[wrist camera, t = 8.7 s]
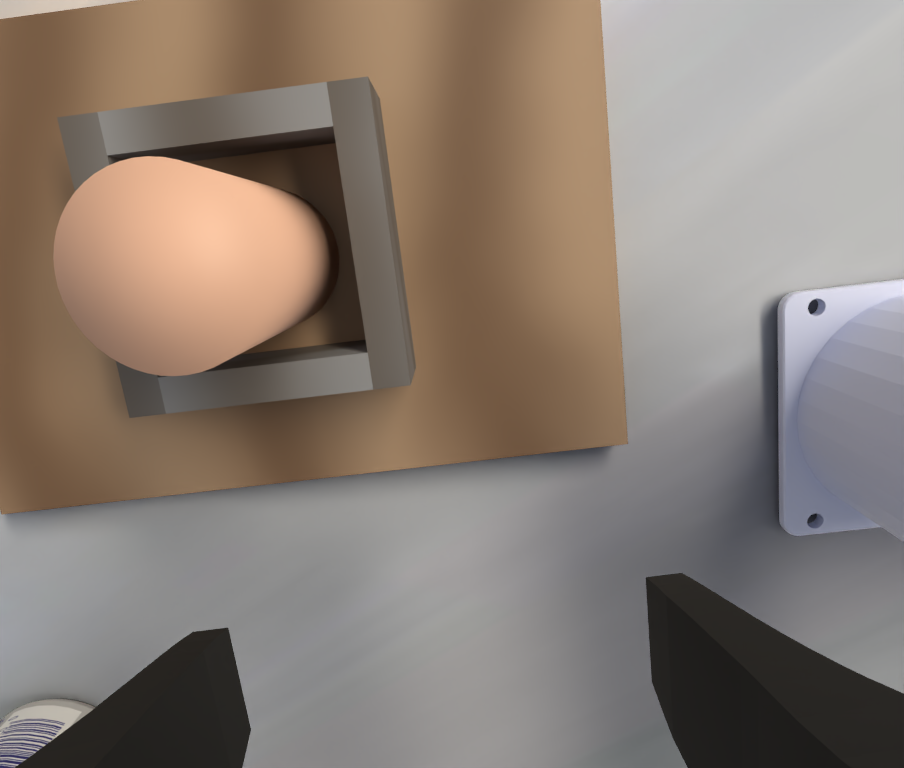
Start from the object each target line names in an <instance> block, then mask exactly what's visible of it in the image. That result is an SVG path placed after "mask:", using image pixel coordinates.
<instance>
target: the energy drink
mask: <svg viewBox="0 0 904 768" xmlns="http://www.w3.org/2000/svg"><path fill="white" fill-rule="evenodd" d="M94 708H95V707H93V706H92V705H89V704H86V703H83V702H80V701H75V700H69V699H45V700H40V701H35V702H30V703H28V704H25V705H23V706H20V707H18V708H16V709H14V710H13V711H12V712H10V713H9V714H7V715H6V716H5V717H4V718H3V719H2V720H1V721H0V768H15V767H16V766H18V765H19V764H20V763H22V762H23V761H25V760H26V759H27V758H29V757H30V756H32V755H33V754H34V753H36V752H37V751H38V750H40V749H41V748H42V747H44V746H45V745H46V744H48V743H49V742H50V741H52V740H53V739H54V738H56V737H57V736H58V735H60V734H61V733H62V732H64V731H65V730H66V729H68V728H69V727H71V726H72V725H73V724H75V723H76V722H77V721H79V720H80V719H81V718H83V717H84V716H85V715H87V714H88V713H89V712H91V711H92V710H93V709H94Z"/></svg>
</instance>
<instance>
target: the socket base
mask: <svg viewBox="0 0 904 768" xmlns="http://www.w3.org/2000/svg"><path fill="white" fill-rule="evenodd" d="M146 156H154V157H166V158H172V159H177V160H181V161H184V162H188V163H191V164H195V165H198V166H202V167H205V168H209V169H212V170H216V171H219V172H223V173H226V174H230V175H233V176H237V177H240V178H244V179H247V180H251V181H254V182H258V183H261V184H265V185H268V186H272V187H275V188H279V189H282V190H286V191H289V192H292V193H294V194H296V195H298V196H300V197H302V198H304V199H305V200H307V201H308V202H309V203H311V204H312V205H313V206H314V207H315V208H316V209H317V210H318V211H319V212H320V213H321V214H322V215H323V216H324V218H325V219H326V221H327V222H328V224H329V225H330V227H331V229H332V231H333V234H334V236H335V239H336V242H337V246H338V251H339V273H338V278H337V282H336V285H335V287H334V290H333V292H332V294H331V296H330V297H329V299H328V301H327V302H326V303H325V304H324V306H323V307H322V308H321V309H320V310H319V311H318V312H317V313H315V314H314V315H313V316H311V317H310V318H308V319H306V320H305V321H303V322H301V323H299V324H297V325H295V326H293V327H291V328H289V329H287V330H285V331H283V332H281V333H279V334H278V335H276V336H274V337H272V338H270V339H268V340H266V341H264V342H262V343H260V344H258V345H256V346H254V347H252V348H250V349H249V350H247V351H245V352H243V353H241V354H239V355H237V356H235V357H233V358H231V359H229V360H227V361H225V362H223V363H221V364H219V365H218V366H216V367H214V368H211V369H208V370H206V371H203V372H200V373H195V374H191V375H183V376H160V375H154V374H148V373H145V372H141V371H138V370H135V369H132V368H130V367H128V366H125V365H123V364H121V363H119V362H117V361H116V360H114V359H112V358H111V357H109V356H107V355H106V354H105V353H104V352H102V351H101V350H100V349H98V348H97V347H96V346H95V345H94V344H93V343H92V342H91V341H90V340H89V339H88V338H86V336H85V335H84V334H83V333H82V331H81V330H80V329H79V328H78V327H77V325H76V324H75V322H74V321H73V319H72V318H71V316H70V314H69V313H68V311H67V309H66V307H65V304H64V302H63V300H62V297H61V295H60V292H59V289H58V286H57V281H56V277H55V271H54V260H53V254H54V240H55V235H56V229H57V226H58V223H59V220H60V217H61V215H62V213H63V211H64V208H65V206H66V204H67V203H68V201H69V200H70V198H71V197H72V195H73V194H74V192H75V191H76V190H77V189H78V188H79V187H80V186H81V185H82V184H83V183H84V182H85V181H86V180H87V179H88V178H90V177H91V176H92V175H93V174H95V173H96V172H98V171H100V170H101V169H103V168H105V167H106V166H109V165H111V164H114V163H116V162H119V161H122V160H126V159H130V158H135V157H146ZM622 444H628V439H627V422H626V406H625V390H624V374H623V358H622V342H621V326H620V310H619V294H618V278H617V262H616V245H615V229H614V213H613V197H612V181H611V165H610V149H609V133H608V117H607V101H606V84H605V68H604V52H603V36H602V20H601V4H600V0H137V1H130V2H123V3H116V4H108V5H101V6H94V7H86V8H79V9H72V10H64V11H57V12H50V13H42V14H35V15H28V16H21V17H13V18H6V19H0V510H1V514H9V513H18V512H27V511H36V510H45V509H54V508H62V507H71V506H80V505H89V504H98V503H107V502H116V501H125V500H133V499H142V498H151V497H160V496H169V495H178V494H187V493H196V492H205V491H213V490H222V489H231V488H240V487H249V486H258V485H267V484H276V483H284V482H293V481H302V480H311V479H320V478H329V477H338V476H347V475H355V474H364V473H373V472H382V471H391V470H400V469H409V468H418V467H427V466H435V465H444V464H453V463H462V462H471V461H480V460H489V459H498V458H506V457H515V456H524V455H533V454H542V453H551V452H560V451H569V450H577V449H586V448H595V447H604V446H613V445H622Z"/></svg>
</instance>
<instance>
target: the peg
mask: <svg viewBox="0 0 904 768" xmlns="http://www.w3.org/2000/svg"><path fill="white" fill-rule="evenodd" d="M53 260H54V271H55V277H56V281H57V286H58V289H59V292H60V295H61V297H62V300H63V302H64V304H65V307H66V309H67V311H68V313H69V314H70V316H71V318H72V319H73V321H74V322H75V324H76V325H77V327H78V328H79V329H80V330H81V331H82V333H83V334H84V335H85V336H86V338H88V339H89V340H90V341H91V342H92V343H93V344H94V345H95V346H96V347H97V348H98V349H100V350H101V351H102V352H104V353H105V354H106V355H107V356H109V357H111V358H112V359H114V360H116V361H117V362H119V363H121V364H123V365H125V366H128V367H130V368H132V369H135V370H138V371H141V372H145V373H148V374H154V375H160V376H183V375H191V374H195V373H200V372H203V371H206V370H208V369H211V368H214V367H216V366H218V365H219V364H221V363H223V362H225V361H227V360H229V359H231V358H233V357H235V356H237V355H239V354H241V353H243V352H245V351H247V350H249V349H250V348H252V347H254V346H256V345H258V344H260V343H262V342H264V341H266V340H268V339H270V338H272V337H274V336H276V335H278V334H279V333H281V332H283V331H285V330H287V329H289V328H291V327H293V326H295V325H297V324H299V323H301V322H303V321H305V320H306V319H308V318H310V317H311V316H313V315H314V314H315V313H317V312H318V311H319V310H320V309H321V308H322V307H323V306H324V304H325V303H326V302H327V301H328V299H329V297H330V296H331V294H332V292H333V290H334V287H335V285H336V282H337V278H338V273H339V251H338V246H337V242H336V239H335V236H334V234H333V231H332V229H331V227H330V225H329V224H328V222H327V221H326V219H325V218H324V216H323V215H322V214H321V213H320V212H319V211H318V210H317V209H316V208H315V207H314V206H313V205H312V204H311V203H309V202H308V201H307V200H305V199H304V198H302V197H300V196H298V195H296V194H294V193H292V192H289V191H286V190H282V189H279V188H275V187H272V186H268V185H265V184H261V183H258V182H254V181H251V180H247V179H244V178H240V177H237V176H233V175H230V174H226V173H223V172H219V171H216V170H212V169H209V168H205V167H202V166H198V165H195V164H191V163H188V162H184V161H181V160H177V159H172V158H166V157H154V156H146V157H135V158H130V159H126V160H122V161H119V162H116V163H114V164H111V165H109V166H106V167H105V168H103V169H101V170H100V171H98V172H96V173H95V174H93V175H92V176H91V177H90V178H88V179H87V180H86V181H85V182H84V183H83V184H82V185H81V186H80V187H79V188H78V189H77V190H76V191H75V192H74V194H73V195H72V197H71V198H70V200H69V201H68V203H67V204H66V206H65V208H64V211H63V213H62V215H61V217H60V220H59V223H58V226H57V229H56V235H55V240H54V254H53Z"/></svg>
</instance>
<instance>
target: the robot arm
mask: <svg viewBox="0 0 904 768" xmlns="http://www.w3.org/2000/svg"><path fill="white" fill-rule="evenodd" d="M814 299H816V300H817V301H818V309H817V310H816V311H815V312H814V313H812V314H810V313H809V311H808V306H809V303H810V302H811V301H812V300H814ZM778 427H779V521H780V525H781V526H782V528H783V529H784V530H785V531H786V532H788V533H789V534H791V535H793V536H804V535H814V534H823V533H832V532H842V531H851V530H860V529H869V528H879V527H882V528H883V529H885V530H886V531H888V532H889V533H891V534H892V535H894V536H895V537H897V538H898V539H900V540H901V541H903V542H904V279H896V280H888V281H880V282H871V283H863V284H854V285H846V286H838V287H829V288H821V289H812V290H804V291H796V292H791V293H788V294H787V295H785V296H784V297H783V298H782V299H781V301H780V303H779V305H778ZM815 513H816V514H817V517H816V519H815V520H814V521H813V522H811V523H807V520H808V518H809V517H810V516H811V515H812V514H815ZM646 588H647V605H648V622H649V639H650V656H651V673H652V683H653V686H654V689H655V691H656V694H657V697H658V700H659V702H660V705H661V708H662V711H663V713H664V716H665V718H666V721H667V724H668V726H669V729H670V731H671V734H672V737H673V739H674V741H675V743H676V745H677V747H678V749H679V751H680V753H681V755H682V757H683V759H684V761H685V763H686V765H687V767H688V768H904V694H903V693H901V692H898V691H896V690H894V689H892V688H889V687H887V686H885V685H883V684H880V683H878V682H876V681H874V680H871V679H869V678H867V677H865V676H863V675H861V674H858V673H856V672H854V671H852V670H850V669H848V668H846V667H844V666H842V665H840V664H838V663H836V662H834V661H832V660H830V659H829V658H827V657H825V656H823V655H821V654H819V653H817V652H815V651H813V650H811V649H809V648H808V647H806V646H804V645H802V644H800V643H798V642H797V641H795V640H793V639H791V638H789V637H788V636H786V635H784V634H782V633H781V632H779V631H777V630H775V629H774V628H772V627H770V626H768V625H767V624H765V623H763V622H762V621H760V620H758V619H757V618H755V617H753V616H752V615H750V614H748V613H747V612H745V611H743V610H742V609H740V608H739V607H737V606H735V605H734V604H732V603H730V602H729V601H727V600H726V599H724V598H722V597H721V596H719V595H718V594H716V593H714V592H713V591H711V590H710V589H708V588H706V587H705V586H703V585H701V584H700V583H698V582H696V581H695V580H693V579H691V578H690V577H688V576H686V575H684V574H682V573H678V574H670V575H662V576H654V577H646ZM250 731H251V728H250V724H249V719H248V715H247V710H246V706H245V701H244V697H243V693H242V688H241V684H240V679H239V675H238V670H237V666H236V661H235V657H234V652H233V648H232V643H231V639H230V634H229V630H228V628H222V629H214V630H206V631H197V632H192V633H191V634H189V635H188V636H186V637H185V638H183V639H182V640H181V641H179V642H178V643H176V644H175V645H174V646H172V647H171V648H170V649H169V650H167V651H166V652H165V653H163V654H162V655H161V656H160V657H158V658H157V659H156V660H155V661H153V662H152V663H151V664H150V665H148V666H147V667H146V668H145V669H143V670H142V671H141V672H140V673H138V674H137V675H136V676H135V677H133V678H132V679H131V680H130V681H128V682H127V683H126V684H125V685H123V686H122V687H121V688H120V689H118V690H117V691H116V692H115V693H113V694H112V695H111V696H110V697H108V698H107V699H106V700H104V701H103V702H102V703H101V704H99V705H98V706H97V707H96V708H94V709H93V710H92V711H91V712H89V713H88V714H87V715H85V716H84V717H83V718H81V719H80V720H79V721H77V722H76V723H75V724H73V725H72V726H71V727H69V728H68V729H66V730H65V731H64V732H62V733H61V734H60V735H58V736H57V737H56V738H54V739H53V740H52V741H50V742H49V743H48V744H46V745H45V746H44V747H42V748H41V749H40V750H38V751H37V752H36V753H34V754H33V755H32V756H30V757H29V758H27V759H26V760H25V761H23V762H22V763H20V764H19V765H18V766H16V767H15V768H242V766H243V762H244V758H245V753H246V749H247V744H248V740H249V735H250Z"/></svg>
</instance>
